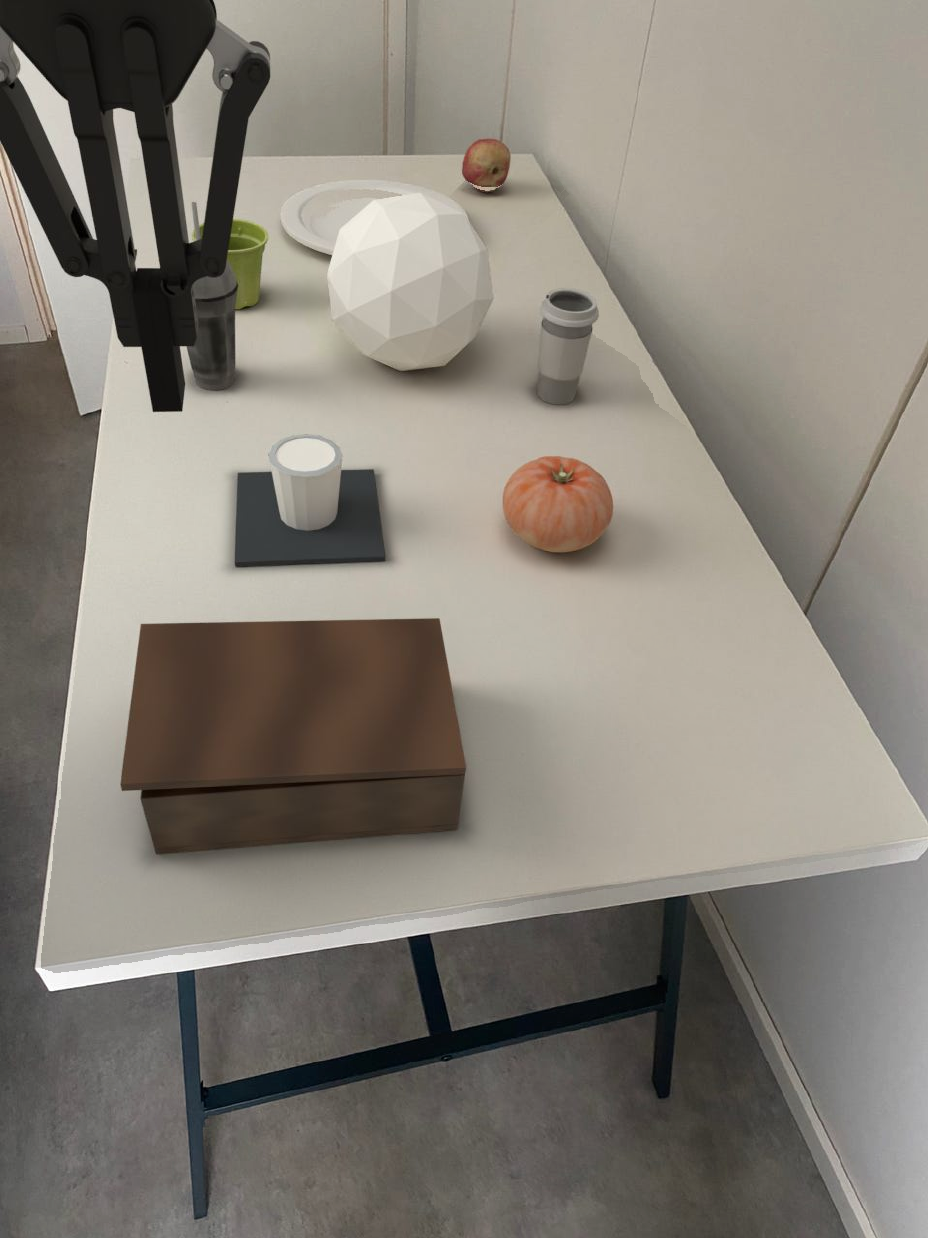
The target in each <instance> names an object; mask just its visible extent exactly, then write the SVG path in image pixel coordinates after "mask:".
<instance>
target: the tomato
mask: <svg viewBox="0 0 928 1238" xmlns="http://www.w3.org/2000/svg"><path fill="white" fill-rule="evenodd" d="M502 511H503V515H504V519H505V521H506V523H507V525H508V526H509V528H510V529H511V530H512V532H513V533H514V534H515V535H516V536H517V537H518V538H519V539H520V540H522V541H523V542H524V543H525V544H528V545H529V546H531V547H534V548H536V549H539V550H541V551H546V552H550V553H569V552H574V551H579V550H582V549H584V548H586V547H588V546H590V545H592V544H593V543H595V542H596V541H597V540H599V539H600V538H601V536H602V535H604V533H605V531H606V530H607V528H608V527H609V525H610V524H611V521H612V518H613V515H614V500H613V495H612V492H611V489H610V487H609V485H608V482H607V480H606V479H605V477H603V475H602V474H601V473H600V472H598V471H597V470H595V469H594V468H593V467H592V466H590V465H589V464H588V463H586V462H584V461H581V460H579V459H577V458H573V457H564V456H558V455H548V456H546V455H545V456H542V457H541V456H540V457H538V458H537V459H534V460H530V461H528V462H526V463H524V464H523V465H521V466H520V467H519V468H518V469H516V470H515V471H514V472H513V473H512V474H511V475H510V477H509V478H508V480H507V482H506V483H505V486H504V488H503V492H502Z"/></svg>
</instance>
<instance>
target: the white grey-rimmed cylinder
mask: <svg viewBox="0 0 928 1238" xmlns="http://www.w3.org/2000/svg"><path fill="white" fill-rule="evenodd" d="M268 460H269V463H270V464H269V465H270V470H271V471H270V472H272V476H273V481H274V486H275V491H276V496H277V502H278V507H279V512H280V516H281V520H282V521H283V522H284V523H285V524H286V525H288V526H290V527H292V528H295V529H298V530H306V531H310V530H318V529H321V528H323V527H326V526H328V525H330V524H331V523H332V522H333V521H334V520H335V518H336V515H337V509H338V498H339V487H340V476H341V470H342V464H343V453H342V449H341V446H339V445H338V444H337V443H336V442H334V440H332V439H329V438H326V437H324V436H322V435H316V434H308V433H304V434H294V435H290V436H287V437H284V438H282V439H280V440H278V441H277V442H276V443H274V444H273V445H272V446H271V448H270V450H269V453H268Z"/></svg>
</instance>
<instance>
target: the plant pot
mask: <svg viewBox="0 0 928 1238" xmlns="http://www.w3.org/2000/svg"><path fill="white" fill-rule="evenodd" d="M203 227H204V222H202V223H199V229H200V237H201V239H202V234H203ZM191 239H192V242H194V241H196V238H195V230H194V229H192V232H191ZM268 241H269V233H268V231H267V229H266V228H265V227H264V226H262V225H260V224H259V223H256V222H253V221H250V220H245V219H240V218H233V223H232V229H231V235H230V242H229V248H228V255H227V260H228V262H229V263H230V265H231V267H232V269H233V271H234V274H235V277H236V281H237V283H238V290H237V298H236V306H235V310H241V309H243V308H245V307H253V306H256V304H258V302H259V300H260V294H261V293H260V292H261V280H262V279H261V278H262V266H263V256H264V255H263V254H264V252H265V249H266V244H267V243H268ZM245 302H246V303H245Z"/></svg>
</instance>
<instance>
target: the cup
mask: <svg viewBox="0 0 928 1238" xmlns="http://www.w3.org/2000/svg"><path fill="white" fill-rule="evenodd" d="M539 313H540V314H541V316H542V320H541V324H540V335H539V347H538V348H539V349H538V360H537V361H538V362H537V369H538V373H537V385H536V395H537V397H538V398H539V399H540V400H542V401H543V402H546V403H548V404H551V405H557V406H562V405H567V404H570V403H572V402H573V401H574V400H575V398H576V395H577V390H578V386H579V383H580V377H581V375H582V373H583V370H584V366H585V363H586V357H587V353H588V349H589V345H590V341H591V338H592V333H593V324H595V323H596V322H597V321H598V320H599V317H600V311H599V308H598V302H597V299H596V298H595V296H593V295H592V294H590V293H588V292H586V291H584V290H581V289H577V288H570V287H561V288H555V289H552V290H550V291H549V292H547V293H546V294H545V297H544V299H543V300H542V302H541V304H540V306H539Z"/></svg>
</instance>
